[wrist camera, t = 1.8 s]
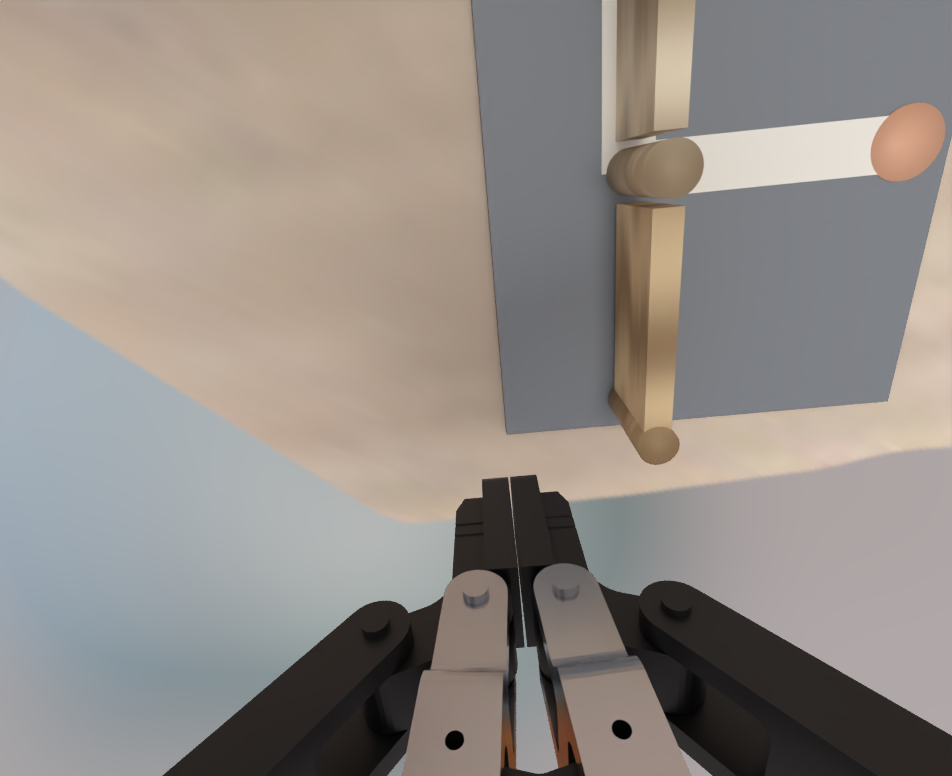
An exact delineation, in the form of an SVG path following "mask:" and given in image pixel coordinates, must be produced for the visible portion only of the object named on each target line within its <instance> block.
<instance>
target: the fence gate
mask: <svg viewBox="0 0 952 776" xmlns="http://www.w3.org/2000/svg"><path fill="white" fill-rule="evenodd" d="M684 221H685V206H683V205H674V204H665V203H656V202H647V201H638V202H628V203H618V204H617V208H616V293H615V379H614V390H613V391H612V392H611V394H610V396H609V406H610V408H611V410H612V411H613V413H614V414H615V416H616V418H617V419H618V421H619V423H620V424H621V426H622V427H623V429H624V431H625V432H626V434H627V436H628V437H629V439H630V441H631V442H632V444H633V445H634V447H635V449H636V450H637V452H638V454H639V455H640V457H641V458H642V459H643V460H644V461H645V462H647V463H649V464H654V465H658V464H663V463H666V462H668V461H670V460H671V459H672V458H673V457H674V456H675V455H676V454H677V452H678V449H679V439H678V437H677V436H676V434H675V433H674V432H673V431H672V417H673V400H674V384H675V368H676V351H677V335H678V319H679V302H680V286H681V270H682V254H683V237H684Z"/></svg>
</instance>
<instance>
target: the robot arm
mask: <svg viewBox="0 0 952 776" xmlns="http://www.w3.org/2000/svg"><path fill="white" fill-rule="evenodd" d="M510 482H511V494H512V506H513V518H514V528H513V518H512V509H511V500H510V491H509V482H508V477H505V478H493V479H482V493H483V498H472V499H464V501H463V502H462V504H461V505H460V507H459V508H458V510H457V511H456V528H455V543H454V560H453V578H452V581H450V583H449V584H448V585H447V587H446V589H445V592H444V596H443V597H442V598H441V599H439V600H438V601H437V602H435V603H433V604H432V605H430V606H427V607H425V608H422V609H419V610H416V611H414V612H411V613H408V612H407V610H406V609H405V608H404V607H403V606H402V605H400V604H398V603H396V602H392V601H378V602H373V603H370V604H368V605H365V606H363V607H362V608H360V609H358V610H357V611H356V612H355V613H353V614H352V615H351V616H350V617H349V618H347V619H346V620H345V621H344V622H343V623H342V624H341V625H339V626H338V627H337V628H336V629H334V630H333V631H332V632H331V633H330V634H329V635H327V636H326V637H325V638H324V639H323V640H321V641H320V642H319V643H318V644H317V645H316V646H314V647H313V648H312V649H311V650H310V651H309V652H307V653H306V654H305V655H304V656H303V657H302V658H300V659H299V660H298V661H297V662H296V663H294V664H293V665H292V666H291V667H290V668H289V669H287V670H286V671H285V672H284V673H283V674H282V675H280V676H279V677H278V678H277V679H276V680H275V681H273V682H272V683H271V684H270V685H269V686H267V687H266V688H265V689H264V690H263V691H262V692H260V693H259V694H258V695H257V696H256V697H254V698H253V699H252V700H251V701H250V702H249V703H247V704H246V705H245V706H244V707H243V708H242V709H241V710H239V711H238V712H237V713H236V714H234V715H233V716H232V717H231V718H230V719H229V720H227V721H226V722H225V723H224V724H223V725H222V726H220V727H219V728H218V729H217V730H216V731H215V732H213V733H212V734H211V735H210V736H209V737H207V738H206V739H205V740H204V741H203V742H202V743H201V744H199V745H198V746H197V747H196V748H195V749H193V750H192V751H191V752H190V753H189V754H188V755H186V756H185V757H184V758H183V759H182V760H181V761H179V762H178V763H177V764H176V765H175V766H173V767H172V768H171V769H170V770H169V771H167V772H166V773H165V774H164V775H163V776H387V775H388V774H389V772H390V771H391V770H392V769H393V768H394V766H395V765H396V764H397V763H398V762H399V760H400V759H401V758H402V757H403V755H404V754H405V753H406V756H405V762H404V767H403V772H402V776H691V774H690V772H689V769H688V767H687V765H686V762H685V760H684V758H683V755H682V753H681V751H680V749H679V747H680V748H681V749H682V750H683V751H684V752H686V753H687V754H688V755H689V756H690V757H691V758H692V759H694V760H695V761H696V762H697V763H699V764H700V765H701V766H702V767H703V768H704V769H705V770H707V771H708V772H709V773H710V774H711V775H712V776H952V736H951V735H950V734H948V733H946V732H944V731H943V730H941V729H939V728H937V727H936V726H934V725H932V724H930V723H929V722H927V721H925V720H923V719H922V718H920V717H918V716H917V715H915V714H913V713H911V712H910V711H908V710H906V709H904V708H902V707H901V706H899V705H897V704H896V703H894V702H892V701H890V700H888V699H887V698H885V697H883V696H882V695H880V694H878V693H876V692H874V691H873V690H871V689H869V688H868V687H866V686H864V685H862V684H861V683H859V682H857V681H856V680H854V679H852V678H850V677H848V676H847V675H845V674H843V673H842V672H840V671H838V670H836V669H835V668H833V667H831V666H829V665H828V664H826V663H824V662H822V661H821V660H819V659H817V658H815V657H814V656H812V655H810V654H808V653H807V652H805V651H803V650H802V649H800V648H798V647H796V646H794V645H793V644H791V643H789V642H788V641H786V640H784V639H782V638H781V637H779V636H777V635H775V634H773V633H772V632H770V631H768V630H766V629H765V628H763V627H761V626H760V625H758V624H756V623H755V622H753V621H751V620H749V619H747V618H746V617H744V616H742V615H740V614H739V613H737V612H735V611H734V610H732V609H730V608H728V607H727V606H725V605H723V604H721V603H720V602H718V601H716V600H714V599H713V598H711V597H709V596H707V595H706V594H704V593H702V592H700V591H699V590H697V589H695V588H693V587H691V586H689V585H687V584H684V583H681V582H676V581H659V582H655V583H653V584H651V585H648V586H647V587H646V588H645V589H644V590H643V591H642V593H641V594H640V596H637V595H632V594H626V593H621V592H617V591H614V590H611V589H609V588H607V587H605V586H603V585H602V584H600V583H599V582H597V580H596V578H595V577H594V576H593V575H592V574H591V573H590V572H589V570H588V568H587V564H586V561H585V558H584V554H583V551H582V548H581V544H580V541H579V537H578V534H577V530H576V528H575V523H574V520H573V518H572V513H571V510H570V506H569V503H568V501H567V500H566V499H565V498H564V497H563V496H562V495H560V494H559V493H558V492H557V491H556V492H544V493H540V490H539V486H538V481H537V476H536V475H528V476H516V477H510ZM514 530H515V537H514ZM515 540H516V545H515ZM516 550H517V554H516ZM517 559H518V563H517ZM518 567H519V574H518ZM519 576H520V585H521V594H522V603H523V612H524V621H525V629H526V639H527V647H532V646H533V647H534V646H537V653H538V660H539V675H540V683H541V688H542V692H543V697H544V702H545V706H546V711H547V716H548V721H549V725H550V730H551V735H552V739H553V744H554V749H555V753H556V758H557V763H558V769H555V770H553V771H550V772H547V773H544V774H535V773H530V772H526V771H521V770H517V769H516V673H517V664H518V663H517V653H516V648H522V647H524V636H523V624H522V611H521V599H520V586H519Z"/></svg>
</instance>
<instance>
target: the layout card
mask: <svg viewBox="0 0 952 776" xmlns="http://www.w3.org/2000/svg"><path fill="white" fill-rule="evenodd" d="M471 1H472V13H473V26H474V38H475V50H476V63H477V75H478V87H479V100H480V112H481V124H482V137H483V149H484V161H485V174H486V186H487V199H488V211H489V223H490V236H491V248H492V260H493V273H494V285H495V297H496V310H497V322H498V334H499V347H500V359H501V371H502V384H503V396H504V409H505V421H506V432H507V435H508V434H519V433H530V432H542V431H553V430H565V429H576V428H587V427H599V426H610V425H621V424H620V423H619V421H618V419H617V418H616V416H615V414H614V413H613V411H612V410H611V408H610V406H609V396H610V394H611V392H612V391H613V390H614V379H615V293H616V208H617V204H618V203H628V202H638V201H647V202H656V203H665V204H674V205H683V206H685V221H684V237H683V254H682V270H681V286H680V302H679V319H678V335H677V351H676V368H675V384H674V400H673V417H672V420H679V419H690V418H702V417H713V416H724V415H736V414H747V413H759V412H770V411H781V410H793V409H804V408H816V407H827V406H838V405H850V404H861V403H873V402H884V401H888V398H889V394H890V389H891V385H892V381H893V377H894V373H895V369H896V364H897V360H898V356H899V352H900V348H901V344H902V340H903V335H904V331H905V327H906V323H907V319H908V315H909V311H910V306H911V302H912V298H913V294H914V290H915V286H916V282H917V277H918V273H919V269H920V265H921V261H922V257H923V253H924V248H925V244H926V240H927V236H928V232H929V228H930V224H931V219H932V215H933V211H934V207H935V203H936V199H937V195H938V190H939V186H940V182H941V178H942V174H943V170H944V166H945V161H946V157H947V153H948V149H949V145H950V141H951V136H952V0H696V2H695V19H694V35H693V52H692V69H691V85H690V102H689V119H688V128H684V129H680V130H676V131H672V132H668V133H664V134H660V135H656V136H652V137H648V138H644V139H638V140H628V141H619V142H615V140H616V44H617V0H471ZM676 137H683V138H687V139H690V140H692V141H693V142H695V143H696V144H697V145H698V147H699V148H700V150H701V152H702V154H703V159H704V168H703V173H702V176H701V179H700V180H699V182H698V184H697V185H696V187H695V188H694V189H693V190H692V191H691V192H689V193H688V194H687V195H685V196H683V197H681V198H677V199H661V198H650V197H638V196H627V195H620V194H617V193H615V192H614V191H613V190H612V189H611V188H610V187H609V185H608V183H607V180H606V172H607V167H608V164H609V162H610V160H611V159H612V157H613V156H614V155H615V154H616V153H617V152H619V151H620V150H623V149H625V148H630V147H634V146H639V145H643V144H648V143H652V142H657V141H662V140H666V139H671V138H676Z"/></svg>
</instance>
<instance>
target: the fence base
mask: <svg viewBox="0 0 952 776" xmlns="http://www.w3.org/2000/svg"><path fill="white" fill-rule="evenodd" d="M695 2H696V0H617V44H616V140H615V142H619V141H628V140H638V139H644V138H648V137H652V136H656V135H660V134H664V133H668V132H672V131H676V130H680V129H684V128H688V119H689V102H690V85H691V69H692V52H693V35H694V19H695ZM703 168H704V159H703V154H702V152H701V150H700V148H699V147H698V145H697V144H696V143H695V142H693V141H692V140H690V139H687V138H683V137H676V138H671V139H666V140H662V141H657V142H652V143H648V144H643V145H639V146H634V147H630V148H625V149H623V150H620V151H619V152H617V153H616V154H615V155H614V156H613V157H612V159H611V160H610V162H609V164H608V167H607V172H606V180H607V183H608V185H609V187H610V188H611V189H612V190H613V191H614V192H615V193H617V194H620V195H627V196H638V197H650V198H661V199H677V198H681V197H683V196H685V195H687V194H688V193H689V192H691V191H692V190H693V189H694V188H695V187H696V185H697V184H698V182H699V180H700V179H701V176H702V173H703Z"/></svg>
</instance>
